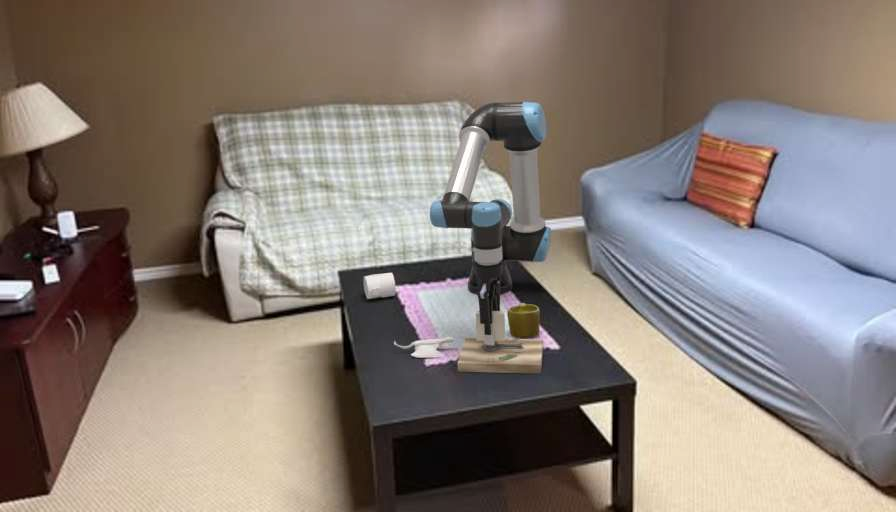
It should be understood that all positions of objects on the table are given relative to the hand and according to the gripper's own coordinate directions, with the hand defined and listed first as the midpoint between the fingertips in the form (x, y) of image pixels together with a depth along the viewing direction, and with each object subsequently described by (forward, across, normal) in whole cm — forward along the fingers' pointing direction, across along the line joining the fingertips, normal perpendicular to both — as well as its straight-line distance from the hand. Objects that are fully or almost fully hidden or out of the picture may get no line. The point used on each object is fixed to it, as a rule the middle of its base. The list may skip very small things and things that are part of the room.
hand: (491, 341), depth 212 cm
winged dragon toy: (+5, +2, -20) cm, 20 cm away
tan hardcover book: (+4, +1, +3) cm, 6 cm away
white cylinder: (+5, -36, -51) cm, 63 cm away
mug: (+5, -18, +4) cm, 19 cm away
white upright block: (+2, 0, +2) cm, 3 cm away
